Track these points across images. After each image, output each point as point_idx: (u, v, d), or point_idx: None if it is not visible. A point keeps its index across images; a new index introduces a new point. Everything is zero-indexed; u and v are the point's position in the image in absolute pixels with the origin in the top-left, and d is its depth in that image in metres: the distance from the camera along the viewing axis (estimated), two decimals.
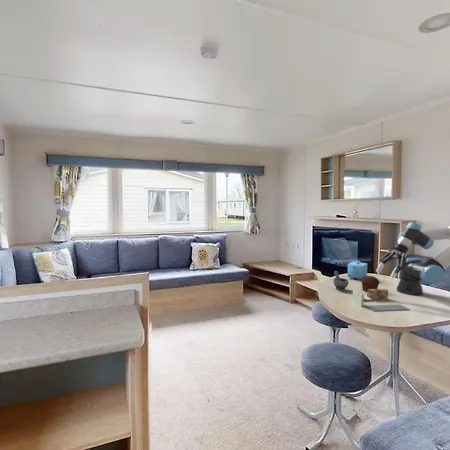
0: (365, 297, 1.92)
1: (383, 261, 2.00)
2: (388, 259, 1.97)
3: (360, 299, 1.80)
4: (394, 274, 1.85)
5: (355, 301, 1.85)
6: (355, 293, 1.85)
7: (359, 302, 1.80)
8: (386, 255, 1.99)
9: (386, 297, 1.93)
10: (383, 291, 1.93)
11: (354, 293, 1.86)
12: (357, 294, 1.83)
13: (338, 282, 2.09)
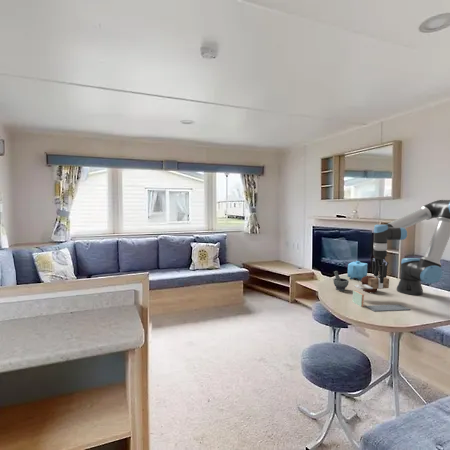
0: (366, 286, 1.92)
1: None
2: (377, 268, 1.94)
3: (360, 299, 1.80)
4: (380, 284, 1.91)
5: (355, 301, 1.85)
6: (355, 293, 1.85)
7: (359, 302, 1.80)
8: (373, 265, 1.97)
9: (387, 286, 1.93)
10: (384, 280, 1.92)
11: (354, 293, 1.86)
12: (357, 294, 1.83)
13: (338, 282, 2.09)
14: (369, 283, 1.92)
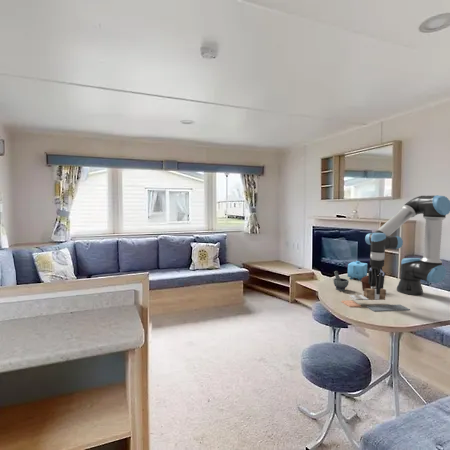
0: (362, 297, 1.83)
1: None
2: (374, 278, 1.85)
3: None
4: (377, 295, 1.82)
5: None
6: None
7: None
8: (370, 275, 1.88)
9: (384, 297, 1.84)
10: (381, 291, 1.83)
11: None
12: None
13: (338, 282, 2.09)
14: (365, 294, 1.84)
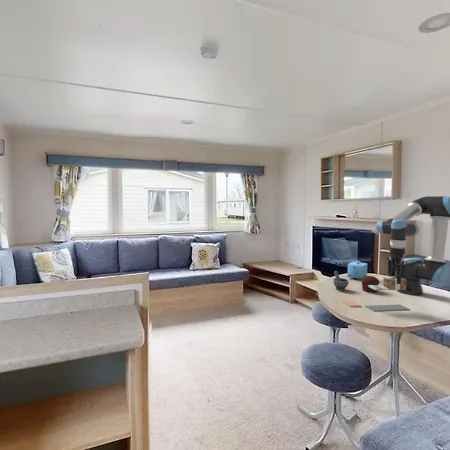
0: (381, 287, 1.75)
1: None
2: (394, 268, 1.77)
3: None
4: (397, 285, 1.74)
5: None
6: None
7: None
8: (389, 264, 1.80)
9: (404, 287, 1.76)
10: (401, 280, 1.75)
11: None
12: None
13: (338, 282, 2.09)
14: (385, 284, 1.76)
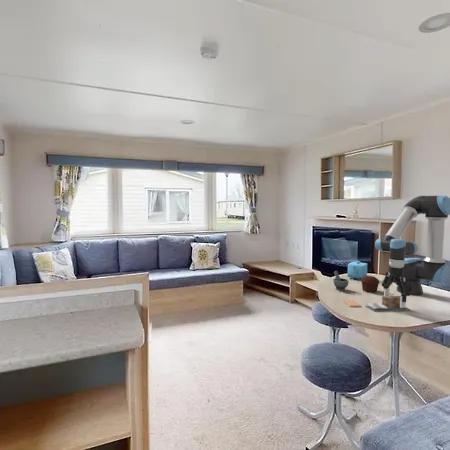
0: (380, 305, 1.76)
1: None
2: (390, 283, 1.81)
3: None
4: (402, 303, 1.70)
5: None
6: None
7: None
8: (386, 279, 1.83)
9: None
10: None
11: None
12: None
13: (338, 282, 2.09)
14: (383, 302, 1.76)
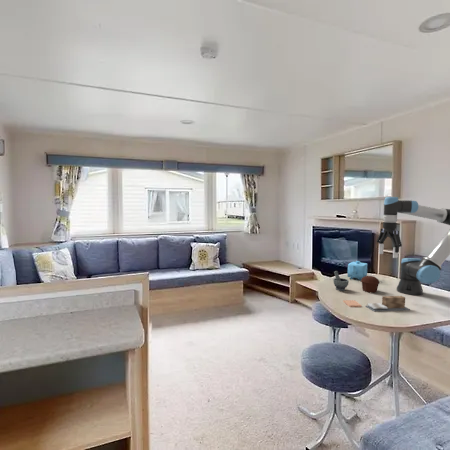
0: (380, 305, 1.76)
1: None
2: (384, 238, 1.99)
3: None
4: (395, 254, 1.88)
5: None
6: None
7: None
8: (380, 235, 2.01)
9: (403, 305, 1.77)
10: (400, 299, 1.76)
11: None
12: None
13: (338, 282, 2.09)
14: (383, 302, 1.76)
